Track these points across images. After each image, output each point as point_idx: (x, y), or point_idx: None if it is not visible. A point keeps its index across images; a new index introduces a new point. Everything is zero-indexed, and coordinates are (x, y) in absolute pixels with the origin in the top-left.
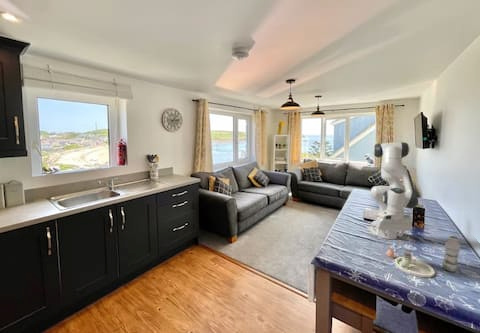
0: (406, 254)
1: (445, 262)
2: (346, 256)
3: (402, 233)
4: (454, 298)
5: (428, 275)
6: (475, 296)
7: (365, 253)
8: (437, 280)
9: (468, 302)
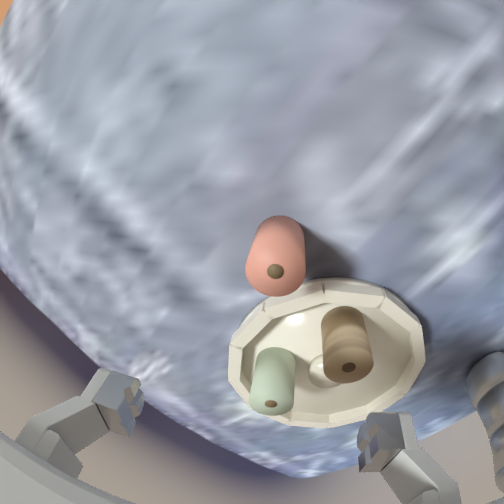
0: (339, 363)
1: (480, 397)
2: (19, 197)
3: (390, 480)
4: (302, 461)
5: (317, 427)
6: None
7: (122, 158)
8: None
9: (325, 468)
